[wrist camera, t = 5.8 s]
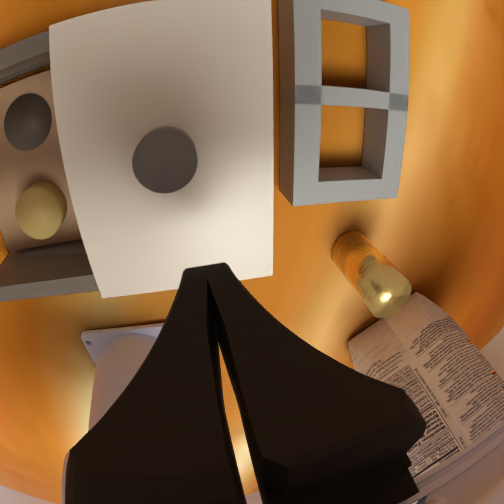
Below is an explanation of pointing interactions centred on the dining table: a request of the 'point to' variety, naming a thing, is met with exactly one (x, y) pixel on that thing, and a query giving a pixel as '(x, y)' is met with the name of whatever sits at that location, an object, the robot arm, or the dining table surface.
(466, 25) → the dining table surface
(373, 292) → the pin
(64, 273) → the housing
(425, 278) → the dining table surface
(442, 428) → the juice carton
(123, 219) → the lid
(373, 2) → the socket board
